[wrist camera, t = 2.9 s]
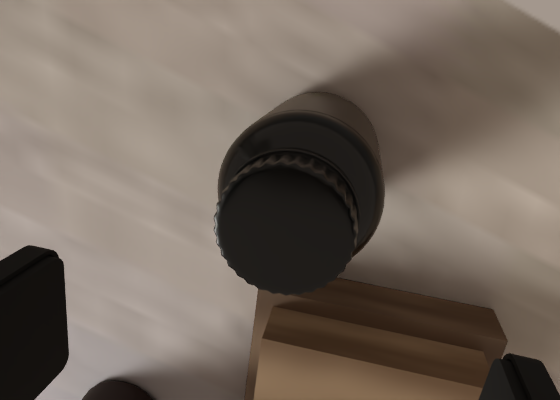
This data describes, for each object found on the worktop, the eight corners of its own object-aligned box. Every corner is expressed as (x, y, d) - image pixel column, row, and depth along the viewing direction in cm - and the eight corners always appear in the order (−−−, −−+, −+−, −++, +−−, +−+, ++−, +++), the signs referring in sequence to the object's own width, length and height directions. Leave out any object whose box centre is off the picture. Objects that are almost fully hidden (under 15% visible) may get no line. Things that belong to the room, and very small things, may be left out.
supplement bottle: (386, 198, 26) (401, 320, 15) (273, 211, 27) (209, 331, 16) (371, 77, 24) (375, 114, 12) (249, 100, 25) (157, 149, 14)
